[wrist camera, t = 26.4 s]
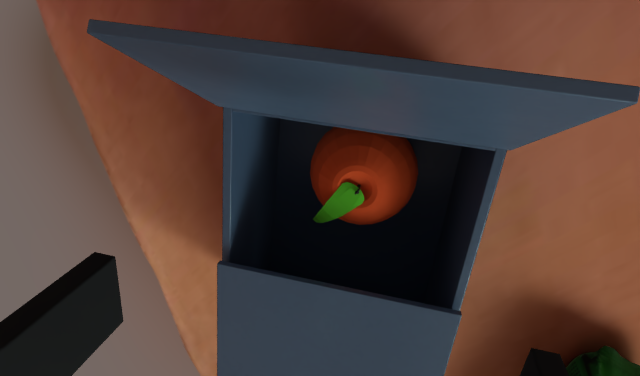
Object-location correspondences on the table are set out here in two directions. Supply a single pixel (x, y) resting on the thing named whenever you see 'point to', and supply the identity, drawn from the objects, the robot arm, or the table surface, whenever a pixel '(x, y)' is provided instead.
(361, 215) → the clementine
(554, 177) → the table surface
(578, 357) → the snack package
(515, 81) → the flap
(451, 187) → the carton
